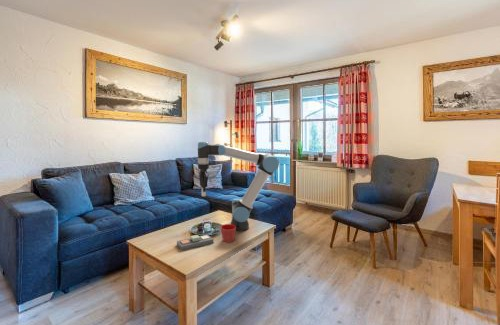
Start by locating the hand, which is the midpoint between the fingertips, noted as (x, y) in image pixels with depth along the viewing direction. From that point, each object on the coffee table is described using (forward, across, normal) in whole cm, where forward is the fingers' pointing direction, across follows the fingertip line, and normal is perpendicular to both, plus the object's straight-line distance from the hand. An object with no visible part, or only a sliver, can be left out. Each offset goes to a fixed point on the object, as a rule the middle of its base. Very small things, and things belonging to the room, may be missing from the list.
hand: (203, 195), depth 185 cm
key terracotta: (+28, +11, -18) cm, 35 cm away
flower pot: (+30, +17, +11) cm, 36 cm away
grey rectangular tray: (+29, +11, -11) cm, 33 cm away
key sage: (+27, +11, -11) cm, 31 cm away
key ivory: (+28, +11, -4) cm, 31 cm away
